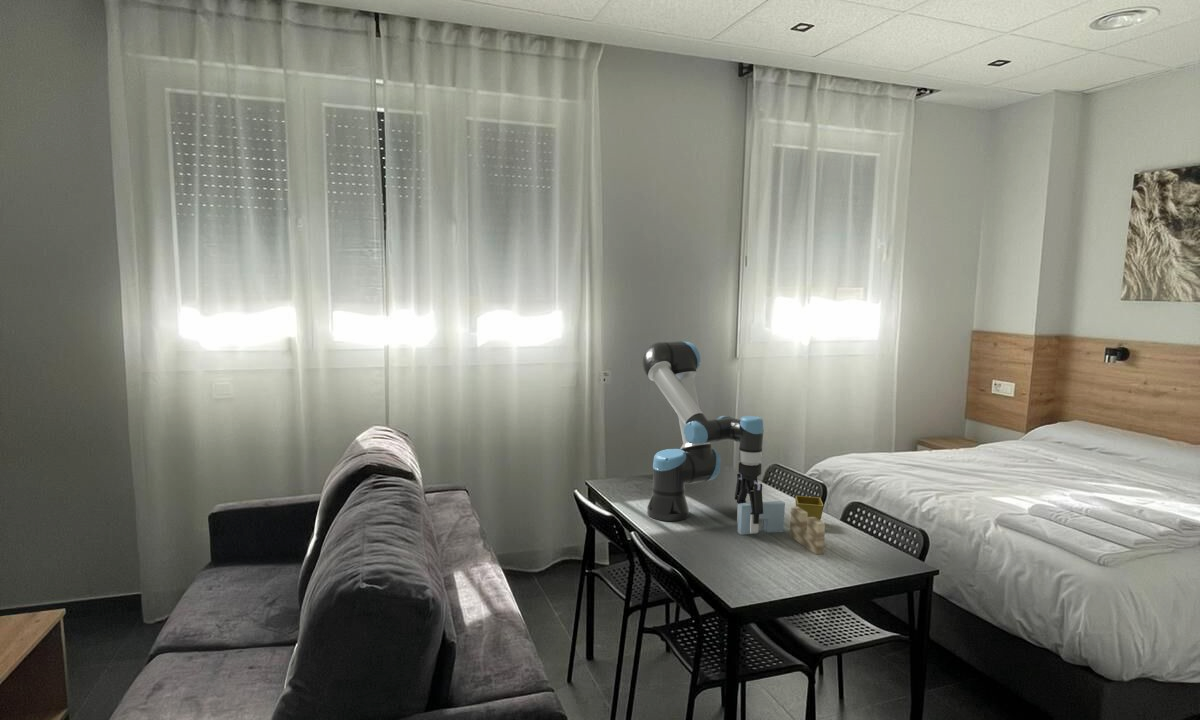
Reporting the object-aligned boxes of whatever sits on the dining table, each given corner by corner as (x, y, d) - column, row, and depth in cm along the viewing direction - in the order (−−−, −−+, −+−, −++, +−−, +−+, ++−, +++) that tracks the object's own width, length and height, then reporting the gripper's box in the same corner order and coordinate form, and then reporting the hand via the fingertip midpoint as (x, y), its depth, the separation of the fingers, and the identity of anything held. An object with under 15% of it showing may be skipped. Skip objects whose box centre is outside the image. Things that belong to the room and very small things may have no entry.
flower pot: (822, 530, 225) (823, 505, 224) (796, 528, 227) (797, 503, 226) (819, 521, 234) (820, 497, 233) (793, 519, 235) (795, 495, 235)
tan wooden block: (823, 554, 205) (825, 523, 204) (816, 554, 204) (817, 523, 203) (796, 535, 220) (797, 506, 219) (789, 535, 219) (791, 507, 218)
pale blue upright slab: (740, 534, 220) (741, 506, 219) (737, 532, 222) (738, 503, 221) (783, 531, 224) (784, 503, 222) (779, 528, 226) (781, 500, 225)
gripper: (776, 470, 209) (773, 538, 212) (745, 454, 230) (743, 515, 233) (755, 471, 208) (752, 539, 210) (726, 454, 229) (723, 517, 231)
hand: (747, 527), depth 221 cm, fingers open, 9 cm apart
